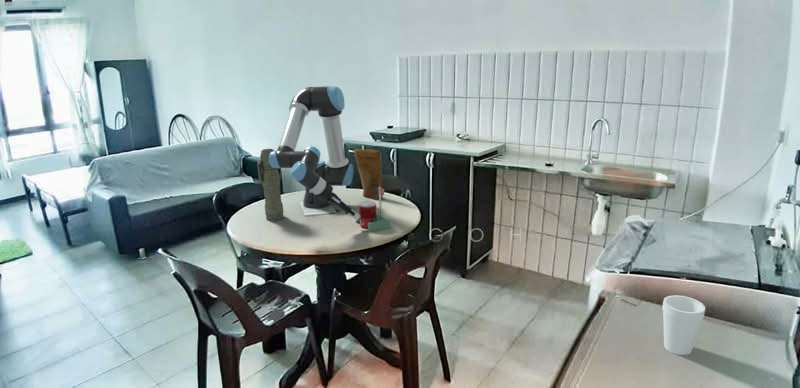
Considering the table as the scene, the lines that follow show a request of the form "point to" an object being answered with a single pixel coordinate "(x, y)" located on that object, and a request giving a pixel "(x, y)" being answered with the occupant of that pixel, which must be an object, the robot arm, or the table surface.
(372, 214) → the canned food
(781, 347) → the table surface
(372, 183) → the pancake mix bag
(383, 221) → the green c-shaped bracket
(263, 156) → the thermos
